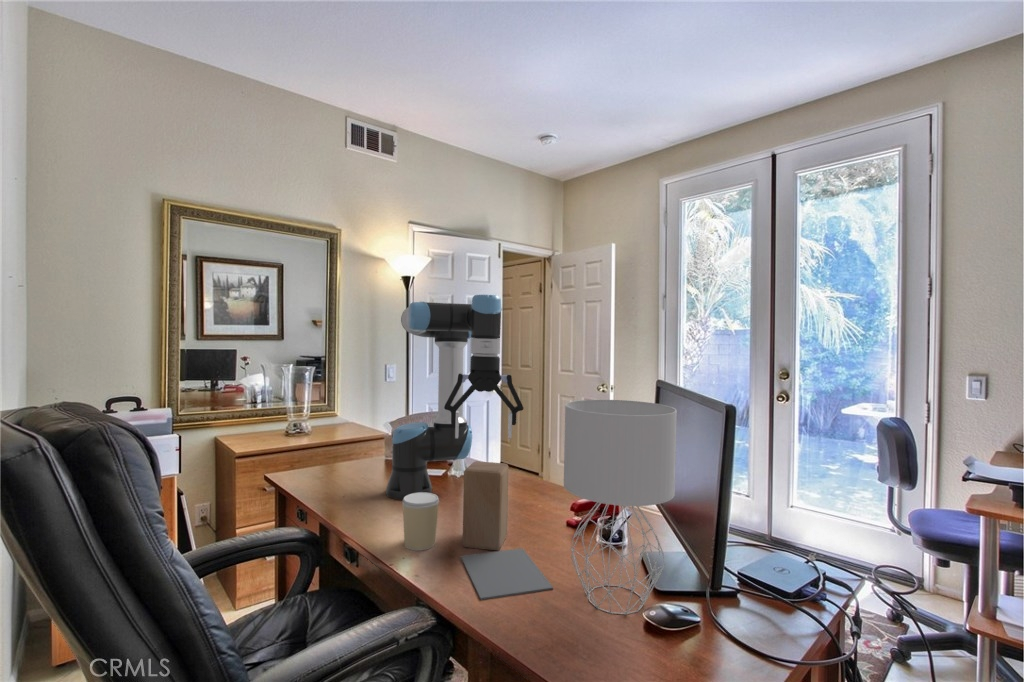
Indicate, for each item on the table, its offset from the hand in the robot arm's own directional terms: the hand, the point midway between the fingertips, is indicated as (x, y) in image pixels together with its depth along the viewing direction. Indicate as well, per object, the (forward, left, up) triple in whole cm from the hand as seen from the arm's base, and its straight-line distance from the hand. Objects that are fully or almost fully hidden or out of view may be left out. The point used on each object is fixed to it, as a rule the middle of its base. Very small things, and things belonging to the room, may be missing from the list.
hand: (483, 437), depth 126 cm
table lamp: (+33, +21, -28) cm, 48 cm away
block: (-1, +2, -28) cm, 28 cm away
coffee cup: (-5, -15, -28) cm, 32 cm away
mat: (+16, +2, -28) cm, 32 cm away
